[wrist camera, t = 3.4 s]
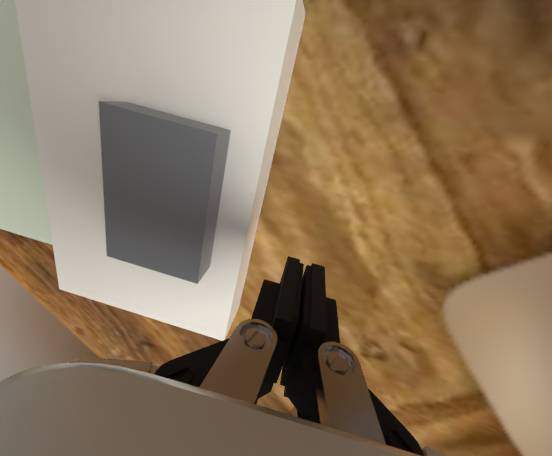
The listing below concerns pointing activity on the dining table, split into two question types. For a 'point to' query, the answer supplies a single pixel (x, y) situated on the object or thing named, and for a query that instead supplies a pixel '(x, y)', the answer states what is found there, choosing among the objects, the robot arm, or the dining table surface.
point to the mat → (18, 140)
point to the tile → (161, 188)
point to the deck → (167, 98)
